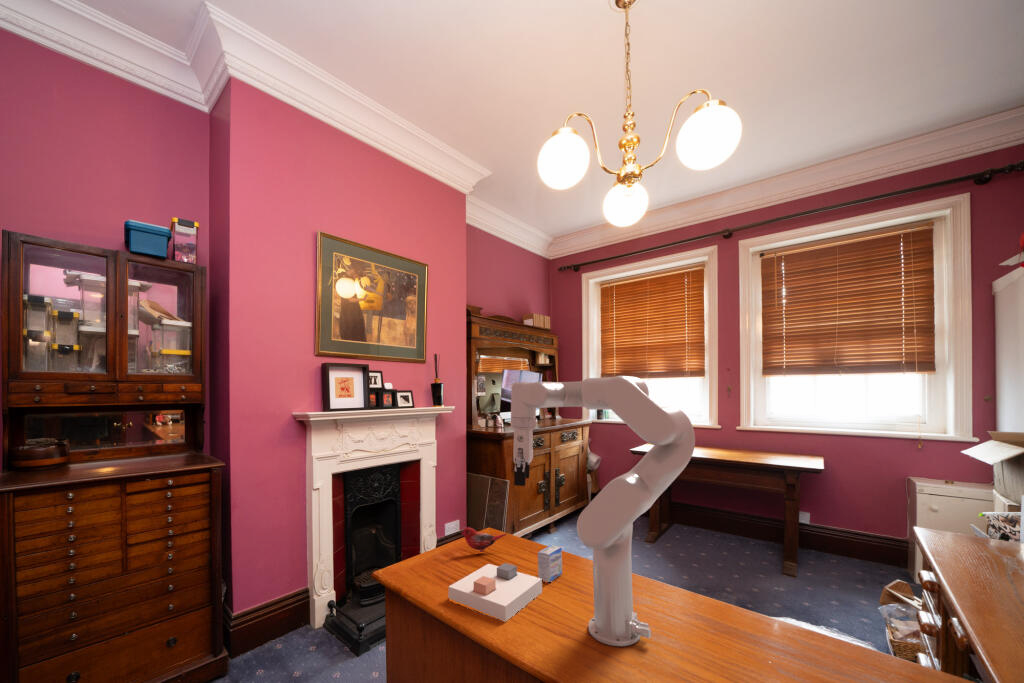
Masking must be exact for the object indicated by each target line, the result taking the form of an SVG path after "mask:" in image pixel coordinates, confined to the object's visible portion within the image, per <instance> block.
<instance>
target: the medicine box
mask: <svg viewBox="0 0 1024 683" xmlns="http://www.w3.org/2000/svg"><path fill="white" fill-rule="evenodd" d="M562 550H563V549H562V547H560V546H558V545H553V544H550V545H549V546H546V547H545V548H543V549H541V550H540V551H538V552H537V566H538V567H537V568H538V569H537V570H538V571H537V573H538V574H537V575H538V577H537V578H541V579H542V580H544V581H547V582H551V581H553V580H554V579H555V578H557V577H558V576H560V575H561V574H562V575H563V551H562ZM562 575H561V576H562ZM561 576H560V577H561ZM558 578H559V577H558ZM558 578H557V579H558ZM555 580H556V579H555ZM555 580H554V581H555ZM544 581H543V582H544ZM554 581H553V582H554ZM547 582H546V583H547ZM551 583H552V582H551Z"/></svg>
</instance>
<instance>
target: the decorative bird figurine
mask: <svg viewBox="0 0 1024 683" xmlns="http://www.w3.org/2000/svg"><path fill="white" fill-rule="evenodd" d="M461 535H462V536H463V537H464V539H465V541H466V544H467V545H468V546H469V547H470V548H471V549H474V550H475V551H479V552H484V550H486V549H487V548H489V547H490V546H492V545H494V544H495V543H496V541H497V540H499V539H501V538H502V537H503V538H504V537H505V536H506V535H508V533H502V534H499V535H493V534H492V535H491V534H490V533H489V534H488V533H484V532H480V531H477V530H475V529H474V528H473V527H470V526H467V527H465V528H464V530H463V531H462V532H461Z"/></svg>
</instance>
